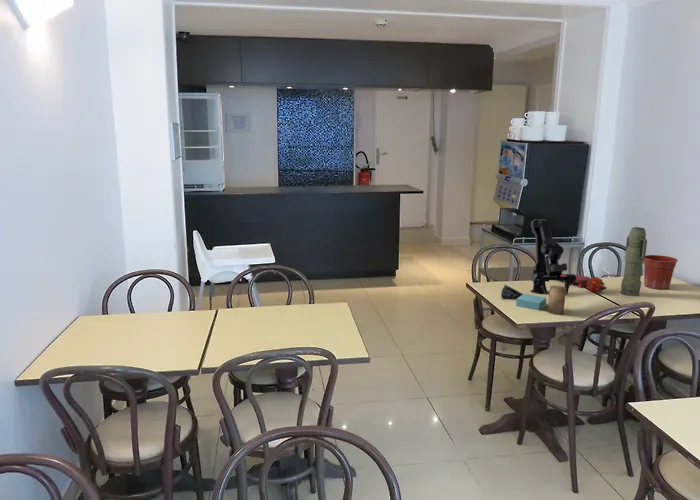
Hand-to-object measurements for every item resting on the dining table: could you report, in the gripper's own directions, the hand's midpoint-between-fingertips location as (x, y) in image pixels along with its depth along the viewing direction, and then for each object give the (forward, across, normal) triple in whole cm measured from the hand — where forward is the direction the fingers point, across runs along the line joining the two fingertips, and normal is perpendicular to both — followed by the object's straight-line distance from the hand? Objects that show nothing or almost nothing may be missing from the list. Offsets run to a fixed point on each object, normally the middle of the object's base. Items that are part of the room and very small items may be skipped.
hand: (556, 294), depth 254 cm
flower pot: (-30, +67, +42) cm, 85 cm away
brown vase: (+6, 0, +6) cm, 8 cm away
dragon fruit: (-20, +30, +31) cm, 48 cm away
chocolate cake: (-8, -16, +20) cm, 27 cm away
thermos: (-19, +47, +31) cm, 59 cm away
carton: (-33, +22, +45) cm, 60 cm away
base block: (0, -9, +12) cm, 15 cm away
